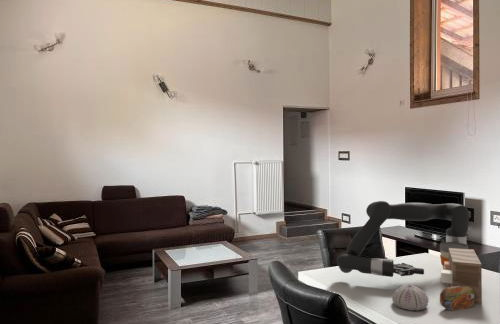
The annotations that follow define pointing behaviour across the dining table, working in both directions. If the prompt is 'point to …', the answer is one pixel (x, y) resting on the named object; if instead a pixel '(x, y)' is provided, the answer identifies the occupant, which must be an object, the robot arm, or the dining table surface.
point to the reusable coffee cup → (445, 250)
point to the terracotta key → (446, 265)
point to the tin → (457, 297)
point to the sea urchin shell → (410, 298)
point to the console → (466, 270)
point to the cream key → (446, 276)
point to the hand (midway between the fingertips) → (423, 271)
